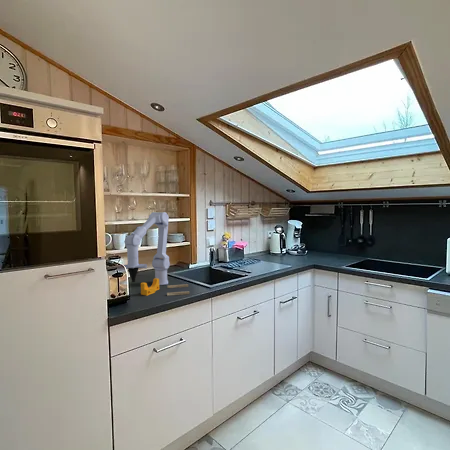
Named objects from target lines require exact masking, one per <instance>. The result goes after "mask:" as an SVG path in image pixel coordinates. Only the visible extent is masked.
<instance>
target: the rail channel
mask: <svg viewBox="0 0 450 450" xmlns="http://www.w3.org/2000/svg"><path fill="white" fill-rule="evenodd" d="M175 288H177V289H178V288H189V284H187V283H185V284H173V285H172V284H171V285H169V284H167V289H175ZM183 295H184V296H185V295H190V291H174V292H172V291H171V292H166V296H183Z"/></svg>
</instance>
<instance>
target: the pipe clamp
mask: <svg viewBox="0 0 450 450" xmlns="http://www.w3.org/2000/svg"><path fill="white" fill-rule="evenodd" d="M159 290H160V285H159V279H158V278H155V277H154V278H153V280H152V284H151V286H148V282H140V295H141V296H142V295H143V296H146V297H147V296H149V295H152V294H155V293H156V291H159Z"/></svg>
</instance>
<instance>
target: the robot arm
mask: <svg viewBox="0 0 450 450" xmlns="http://www.w3.org/2000/svg"><path fill="white" fill-rule="evenodd" d="M169 216H170V215H168V213H167V212H165V211H163V212H160V211H159V212H158V211H157V212H155V211H153V212H151V213H150V214H149V215H148V218H147V219H146V221H145V222H143V224H142V225H140V226H137V227H136V229H135V230H134V231H133V232H131V233H130V234H129V235H127V236H126V237H125V238H124V241H123V243H124V245H125V248H126V255H127V256H126V258H127V264H123V265H124V266H125V267H126V269H125V270H127V272H128V274H129V276H130V278H131V282H132V283H135V282H136V278H137V274H138V271H139V270H140V269H147V268H148V264H147V263H139V245H140V244H141V240H142V239H143V238H144V236H146V235H147V230H149V229H150V228H151V227H153V225H155V226H157V228H158V235H157V245H156V246H157V247H156V253H155V254H154V255H153V257H152V258H153V259H152V261H151V265H152V266H151V267H152V268H153V270H154V274H155V275H154V279H155V278H158V279H159V286H163V285H164V286H165V285H166V286H168V285H169V280H168V269H169V268H170V265H171V262H170V256H169V255H167V244H168V242H167V241H168V232H169V219H170V217H169Z"/></svg>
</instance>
